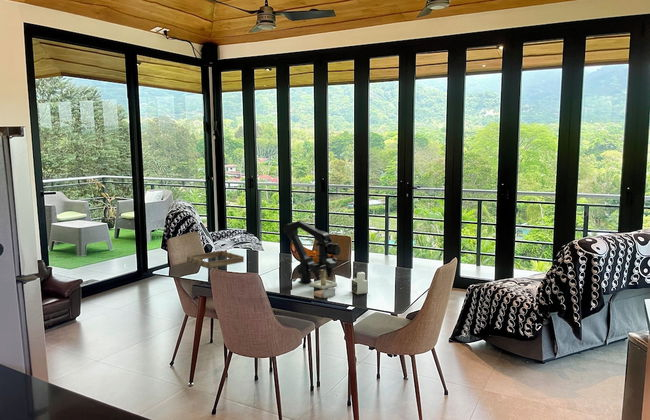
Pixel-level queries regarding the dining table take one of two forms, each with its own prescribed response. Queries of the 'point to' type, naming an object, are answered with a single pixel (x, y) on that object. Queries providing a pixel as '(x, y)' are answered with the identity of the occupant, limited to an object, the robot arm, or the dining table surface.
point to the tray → (318, 285)
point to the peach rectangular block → (318, 293)
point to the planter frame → (198, 261)
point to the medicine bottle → (359, 283)
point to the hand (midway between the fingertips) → (323, 278)
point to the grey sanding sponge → (328, 292)
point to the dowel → (323, 277)
